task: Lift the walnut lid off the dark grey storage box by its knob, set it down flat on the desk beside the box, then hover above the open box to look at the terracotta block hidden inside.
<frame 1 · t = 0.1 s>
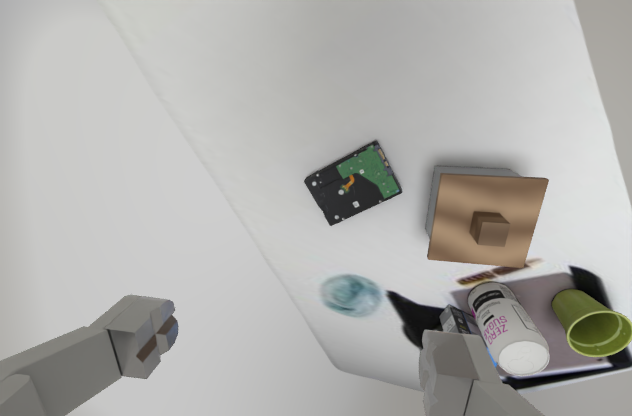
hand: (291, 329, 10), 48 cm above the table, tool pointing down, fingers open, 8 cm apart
plant pot: (568, 300, 59), on the table
lid: (481, 220, 47), point 9 cm above the table, touching storage box
disk drive: (352, 182, 58), on the table
storage box: (464, 200, 55), on the table
label tape cartridge: (462, 319, 64), on the table
supplement can: (488, 297, 61), on the table
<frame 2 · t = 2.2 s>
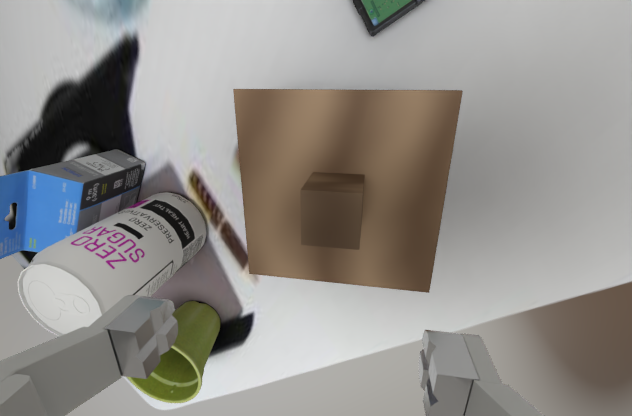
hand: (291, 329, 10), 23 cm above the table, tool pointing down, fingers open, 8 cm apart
plant pot: (201, 317, 42), on the table
lid: (339, 193, 22), point 9 cm above the table, touching storage box
label tape cartridge: (126, 187, 36), on the table
supplement can: (178, 222, 37), on the table
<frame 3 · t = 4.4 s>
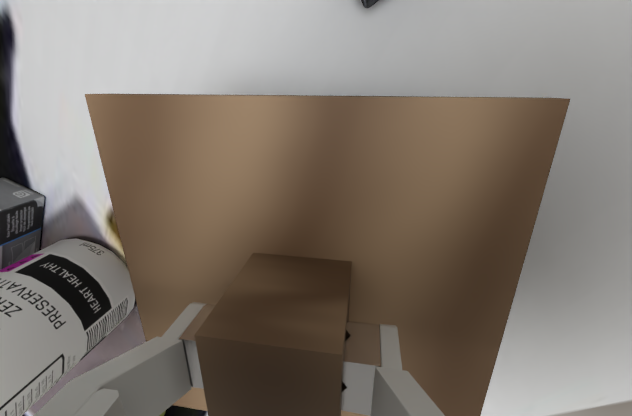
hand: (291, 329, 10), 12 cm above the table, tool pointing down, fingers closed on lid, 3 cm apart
lid: (307, 282, 12), point 9 cm above the table, touching gripper, storage box
label tape cartridge: (24, 229, 26), on the table
supplement can: (99, 276, 27), on the table
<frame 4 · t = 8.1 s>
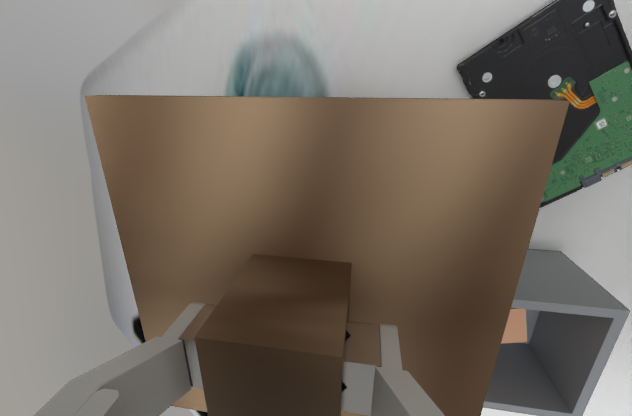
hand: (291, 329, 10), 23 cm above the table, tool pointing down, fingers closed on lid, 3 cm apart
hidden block: (488, 300, 33), point 1 cm above the table, touching storage box
lid: (306, 284, 12), point 21 cm above the table, touching gripper
disk drive: (547, 104, 27), on the table
storage box: (485, 294, 34), on the table
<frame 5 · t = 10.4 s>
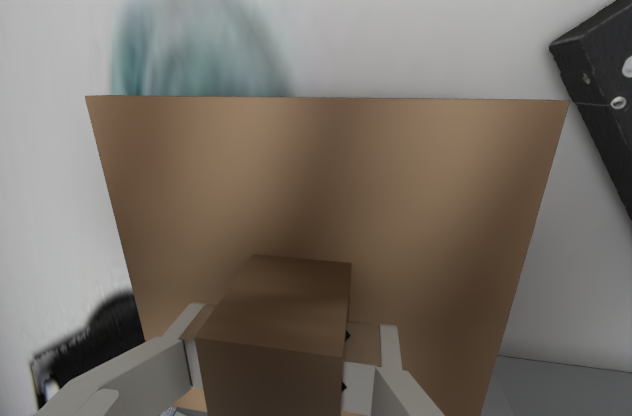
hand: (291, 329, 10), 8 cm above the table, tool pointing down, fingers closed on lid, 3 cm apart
lid: (306, 284, 12), point 6 cm above the table, touching gripper
label tape cartridge: (205, 410, 26), on the table
when the fingers open (4 cm above the table, at t = 12.2 s): lid drops 2 cm, on the table.
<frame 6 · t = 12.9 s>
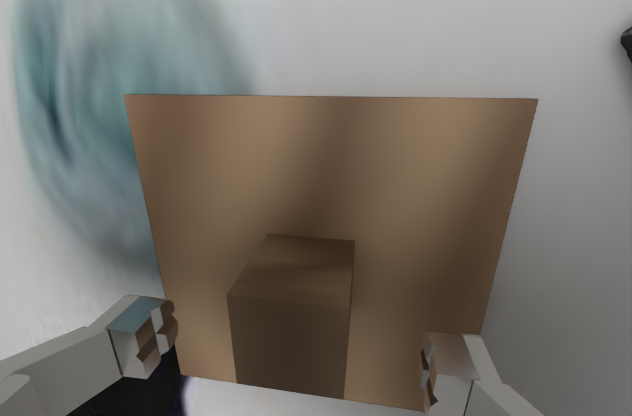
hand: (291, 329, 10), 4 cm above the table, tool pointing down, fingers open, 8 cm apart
lid: (314, 262, 14), on the table
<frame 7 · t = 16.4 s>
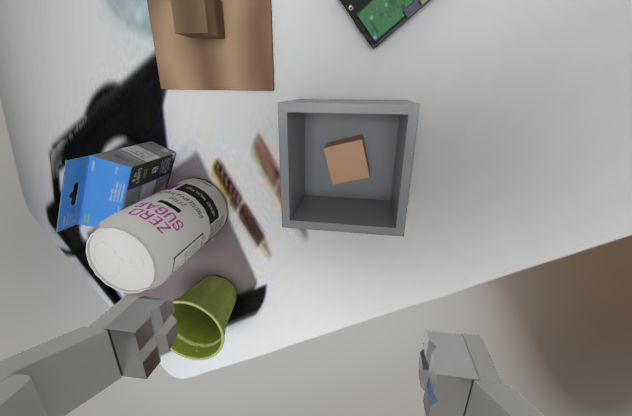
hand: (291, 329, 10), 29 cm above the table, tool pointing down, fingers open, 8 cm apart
plant pot: (219, 290, 48), on the table
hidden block: (349, 155, 36), point 1 cm above the table, touching storage box
lid: (213, 22, 35), on the table
storage box: (349, 153, 37), on the table
label tape cartridge: (157, 174, 42), on the table
supplement can: (201, 205, 43), on the table
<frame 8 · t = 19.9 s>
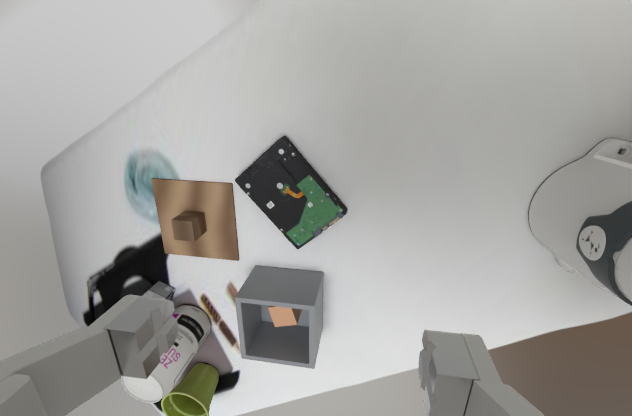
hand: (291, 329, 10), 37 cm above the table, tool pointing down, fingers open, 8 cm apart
plant pot: (206, 371, 67), on the table
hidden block: (288, 300, 55), point 1 cm above the table, touching storage box
lid: (199, 218, 54), on the table
disk drive: (294, 191, 49), on the table
storage box: (289, 297, 56), on the table
label tape cartridge: (162, 299, 61), on the table
supplement can: (193, 319, 62), on the table
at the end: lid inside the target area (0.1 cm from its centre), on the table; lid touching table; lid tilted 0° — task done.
